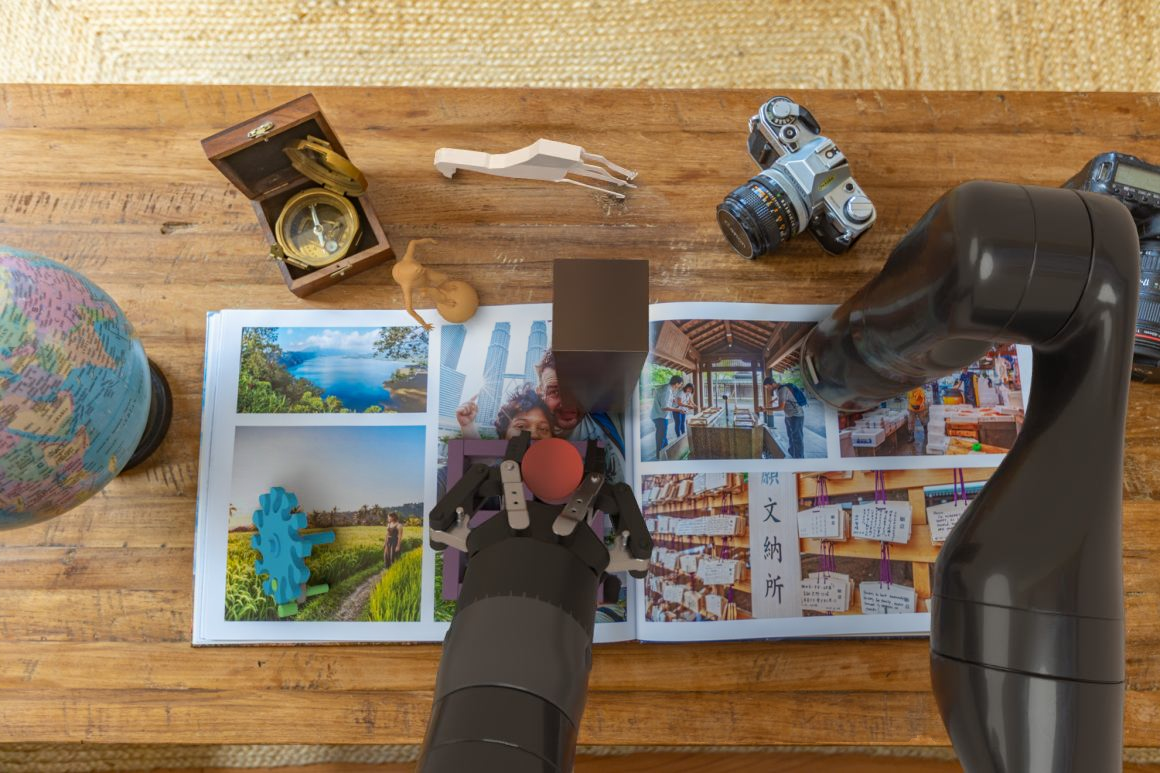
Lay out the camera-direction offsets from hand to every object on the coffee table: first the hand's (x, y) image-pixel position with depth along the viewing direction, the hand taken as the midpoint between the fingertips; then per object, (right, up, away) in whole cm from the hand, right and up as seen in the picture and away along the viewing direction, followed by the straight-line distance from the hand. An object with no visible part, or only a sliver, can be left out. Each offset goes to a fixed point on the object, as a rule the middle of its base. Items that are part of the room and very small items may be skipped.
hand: (559, 445), depth 55 cm
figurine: (-11, +12, +21) cm, 27 cm away
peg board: (-3, -8, +18) cm, 20 cm away
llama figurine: (-3, +24, +24) cm, 34 cm away
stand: (+3, +5, +20) cm, 21 cm away
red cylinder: (0, -3, +4) cm, 5 cm away
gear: (-24, -11, +17) cm, 32 cm away
